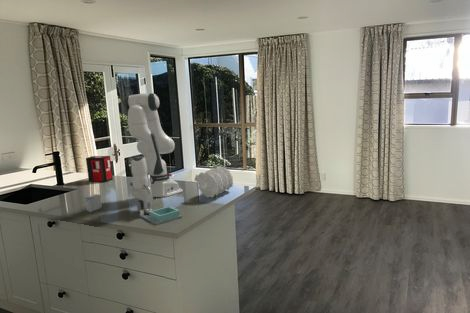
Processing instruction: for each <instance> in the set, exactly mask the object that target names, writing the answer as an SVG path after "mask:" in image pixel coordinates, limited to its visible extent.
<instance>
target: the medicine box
mask: <svg viewBox="0 0 470 313" xmlns="http://www.w3.org/2000/svg"><path fill="white" fill-rule="evenodd" d="M84 200H85V208H86V212H89V213H92V212H95V211H97V210H100V209H103V207H102V199H101V194H96V193H95V194H92V195H88V196H86V197H84Z"/></svg>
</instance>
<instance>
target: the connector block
mask: <svg viewBox="0 0 470 313" xmlns="http://www.w3.org/2000/svg"><path fill="white" fill-rule="evenodd" d="M143 205H144V202H143V201H142V200H139V201H138V200H136V210H137V212H139V213H140V210H143V209H149V211H150V209H151V206H150V205H151V204H150V202H148V204H147V208H144V207H143Z"/></svg>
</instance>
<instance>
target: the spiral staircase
mask: <svg viewBox="0 0 470 313" xmlns="http://www.w3.org/2000/svg"><path fill="white" fill-rule="evenodd" d="M233 178H234V177H233V175H232V173H231V171H230V169H227V168H225V166H221V167H220V166H216V167H214V168H213V167H211V168H210V169H209V170H208V169H207V171H205V172H204V171H202V172H200V173H198V174H195V177H194V181H195V182H196V183H198V189H199V191H200V192H201V195H202V196H205V197H206V199H207V198H212V199H213V198H214V197H215V195H216V196H218V195H219V194H222V192H223V193H225V191H226V190H227V191H229V189H231V188H233V186H234V185H233V184H234V180H233Z"/></svg>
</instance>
